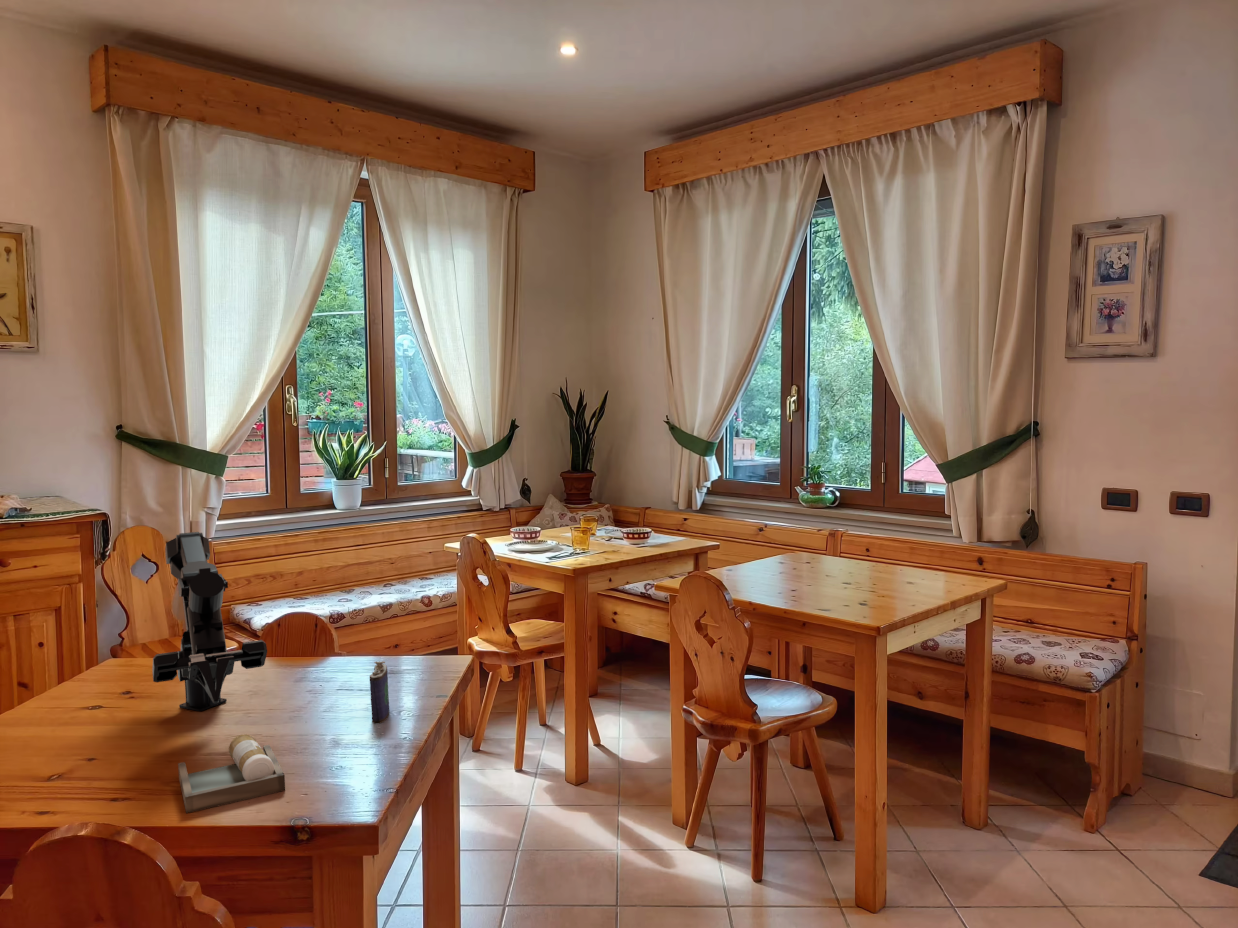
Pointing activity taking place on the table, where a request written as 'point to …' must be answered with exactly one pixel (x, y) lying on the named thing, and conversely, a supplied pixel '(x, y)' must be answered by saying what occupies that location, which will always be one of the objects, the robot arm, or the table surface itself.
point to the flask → (379, 693)
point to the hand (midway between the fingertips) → (216, 701)
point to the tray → (226, 785)
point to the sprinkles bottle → (250, 758)
